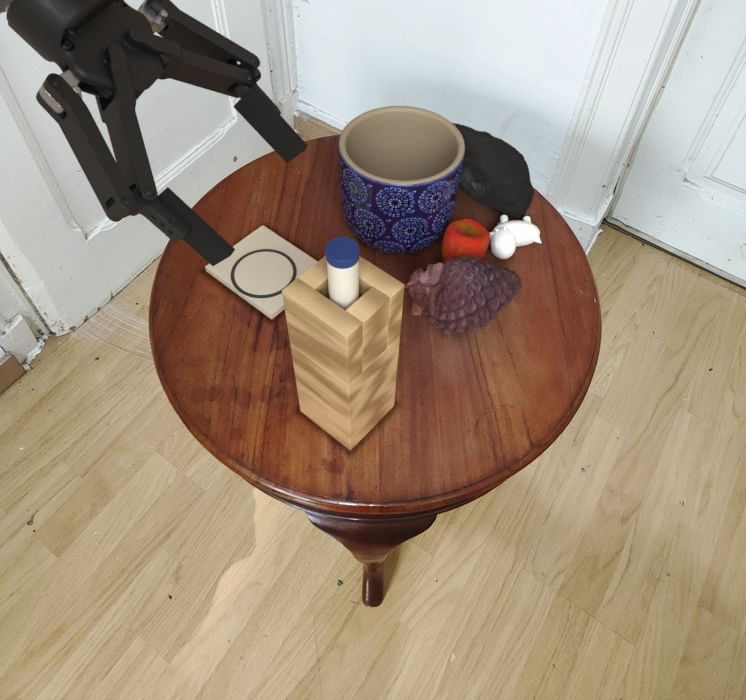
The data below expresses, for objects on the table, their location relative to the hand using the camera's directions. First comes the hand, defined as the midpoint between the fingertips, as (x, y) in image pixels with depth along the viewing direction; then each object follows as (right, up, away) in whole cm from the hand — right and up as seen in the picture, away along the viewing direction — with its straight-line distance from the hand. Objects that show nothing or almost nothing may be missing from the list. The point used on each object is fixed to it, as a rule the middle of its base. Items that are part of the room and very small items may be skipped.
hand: (263, 203), depth 53 cm
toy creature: (+29, +6, +39) cm, 49 cm away
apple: (+21, -1, +36) cm, 41 cm away
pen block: (+6, -19, +23) cm, 31 cm away
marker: (+6, -11, +12) cm, 17 cm away
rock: (+28, +11, +46) cm, 55 cm away
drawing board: (-6, -1, +35) cm, 36 cm away
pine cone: (+21, -8, +32) cm, 39 cm away
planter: (+13, +6, +41) cm, 43 cm away
